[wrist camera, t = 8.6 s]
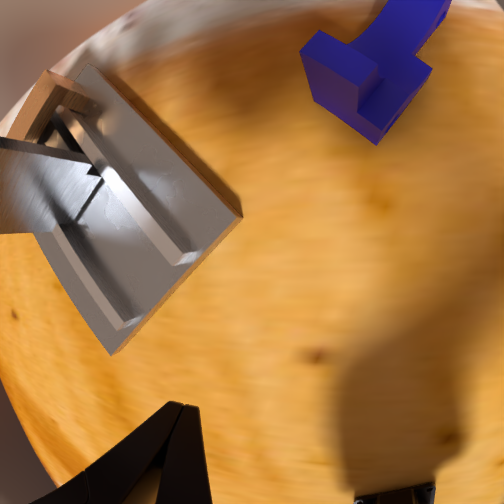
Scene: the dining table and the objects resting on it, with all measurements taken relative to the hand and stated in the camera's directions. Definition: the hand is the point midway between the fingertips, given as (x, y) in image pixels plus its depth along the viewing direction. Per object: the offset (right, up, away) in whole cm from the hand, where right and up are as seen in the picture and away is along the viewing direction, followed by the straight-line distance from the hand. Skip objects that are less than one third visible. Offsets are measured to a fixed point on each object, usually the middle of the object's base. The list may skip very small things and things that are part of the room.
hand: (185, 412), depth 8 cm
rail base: (-10, +9, +14) cm, 19 cm away
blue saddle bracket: (+11, +16, +8) cm, 21 cm away
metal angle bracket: (-13, +12, +13) cm, 22 cm away
